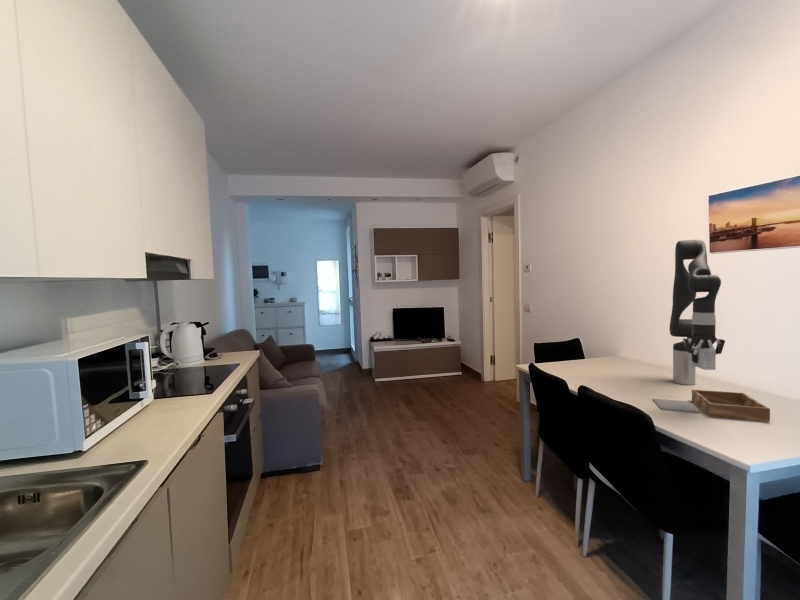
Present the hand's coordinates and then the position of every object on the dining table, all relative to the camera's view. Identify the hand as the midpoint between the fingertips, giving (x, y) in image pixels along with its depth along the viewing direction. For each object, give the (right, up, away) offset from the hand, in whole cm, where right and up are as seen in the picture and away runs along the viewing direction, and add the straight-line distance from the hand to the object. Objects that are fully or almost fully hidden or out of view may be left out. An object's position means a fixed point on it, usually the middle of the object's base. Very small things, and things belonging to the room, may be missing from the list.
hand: (703, 363), depth 151 cm
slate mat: (-8, -19, +5) cm, 22 cm away
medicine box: (0, -2, 0) cm, 2 cm away
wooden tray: (+8, -19, -2) cm, 21 cm away
